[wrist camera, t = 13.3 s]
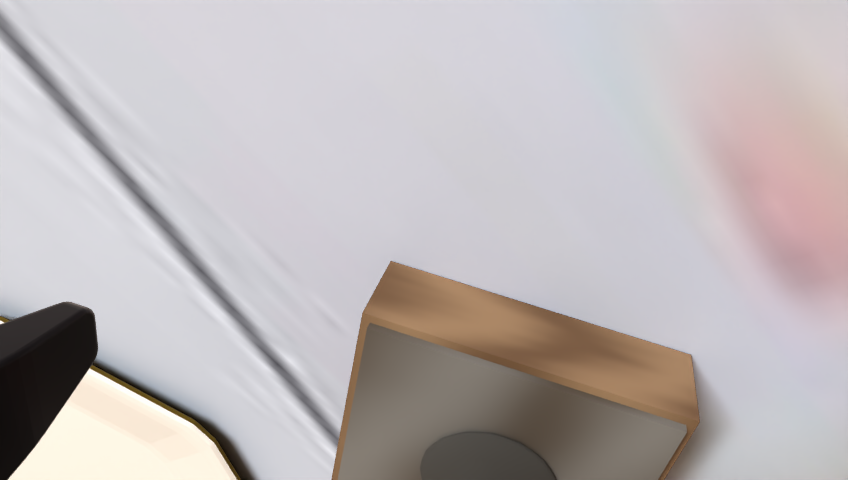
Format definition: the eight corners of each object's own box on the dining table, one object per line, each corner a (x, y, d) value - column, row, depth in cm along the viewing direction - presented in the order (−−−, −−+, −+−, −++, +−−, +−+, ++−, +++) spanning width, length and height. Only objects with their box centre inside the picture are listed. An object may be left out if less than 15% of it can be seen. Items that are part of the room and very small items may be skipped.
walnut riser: (691, 354, 23) (700, 428, 20) (588, 537, 29) (584, 614, 26) (390, 261, 24) (359, 318, 22) (351, 455, 30) (322, 520, 28)
